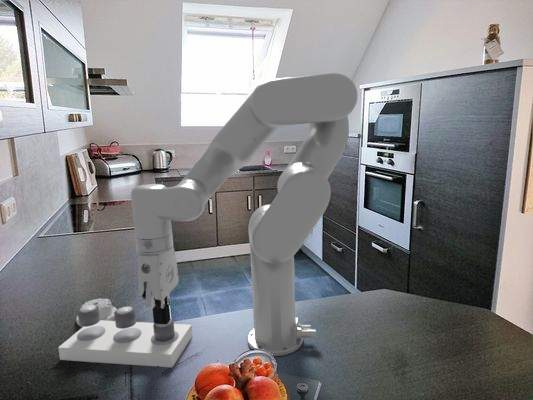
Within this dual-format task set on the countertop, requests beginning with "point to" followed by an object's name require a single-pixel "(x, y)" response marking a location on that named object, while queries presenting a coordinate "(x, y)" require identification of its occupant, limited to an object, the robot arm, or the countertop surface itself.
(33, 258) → the countertop surface
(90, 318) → the knob far
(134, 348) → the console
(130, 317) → the knob middle
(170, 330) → the knob near
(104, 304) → the mechanical component
